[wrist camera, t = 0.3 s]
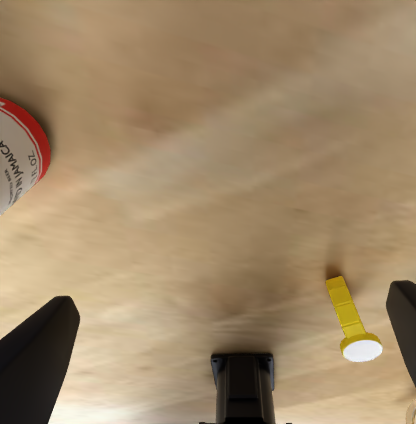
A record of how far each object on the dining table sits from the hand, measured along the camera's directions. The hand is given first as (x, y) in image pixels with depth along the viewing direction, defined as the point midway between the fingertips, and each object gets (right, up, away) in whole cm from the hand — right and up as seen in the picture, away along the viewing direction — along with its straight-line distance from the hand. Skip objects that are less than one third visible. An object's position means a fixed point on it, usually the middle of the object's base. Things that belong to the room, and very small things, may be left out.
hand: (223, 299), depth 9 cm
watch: (+11, -4, +19) cm, 22 cm away
